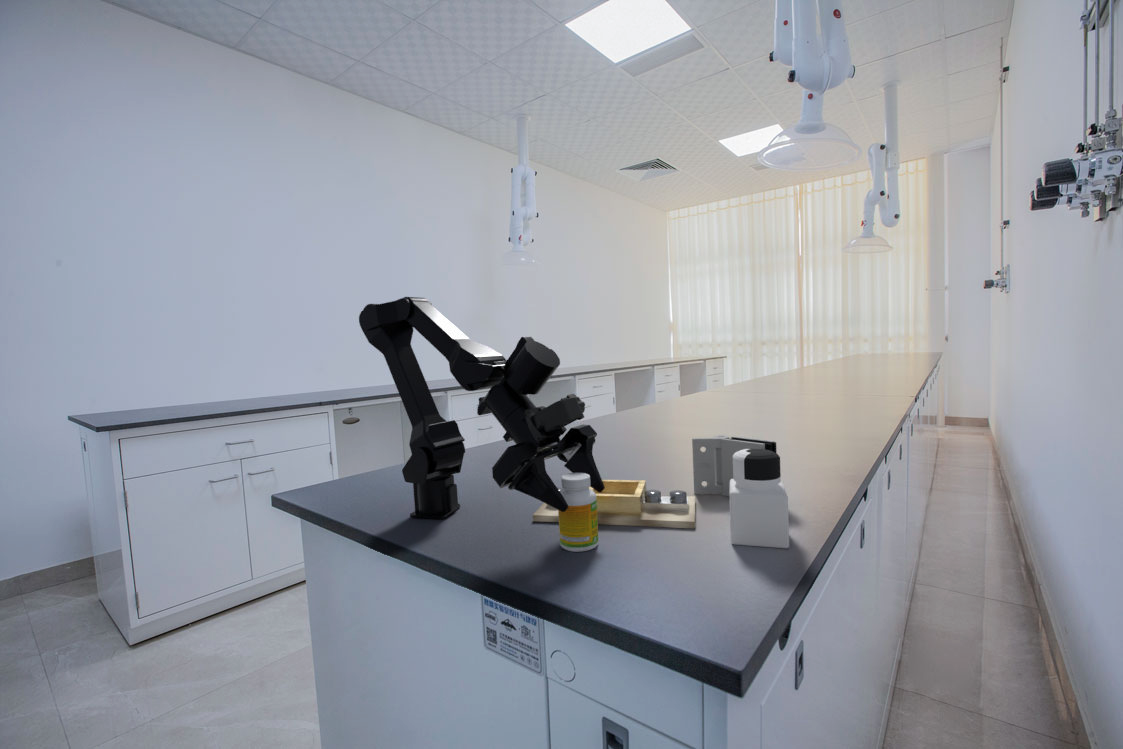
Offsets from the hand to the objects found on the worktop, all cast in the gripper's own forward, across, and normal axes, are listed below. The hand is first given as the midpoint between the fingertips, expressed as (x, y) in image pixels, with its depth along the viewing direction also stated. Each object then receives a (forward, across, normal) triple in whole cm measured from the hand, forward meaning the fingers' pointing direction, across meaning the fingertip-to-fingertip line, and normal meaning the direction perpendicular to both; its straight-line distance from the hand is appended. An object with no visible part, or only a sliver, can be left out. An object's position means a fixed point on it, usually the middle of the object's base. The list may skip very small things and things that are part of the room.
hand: (585, 499), depth 68 cm
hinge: (+13, +30, -3) cm, 33 cm away
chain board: (+2, +14, +7) cm, 16 cm away
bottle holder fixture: (+2, +14, +7) cm, 16 cm away
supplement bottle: (+4, 0, +6) cm, 7 cm away
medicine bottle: (+18, +14, -9) cm, 25 cm away
